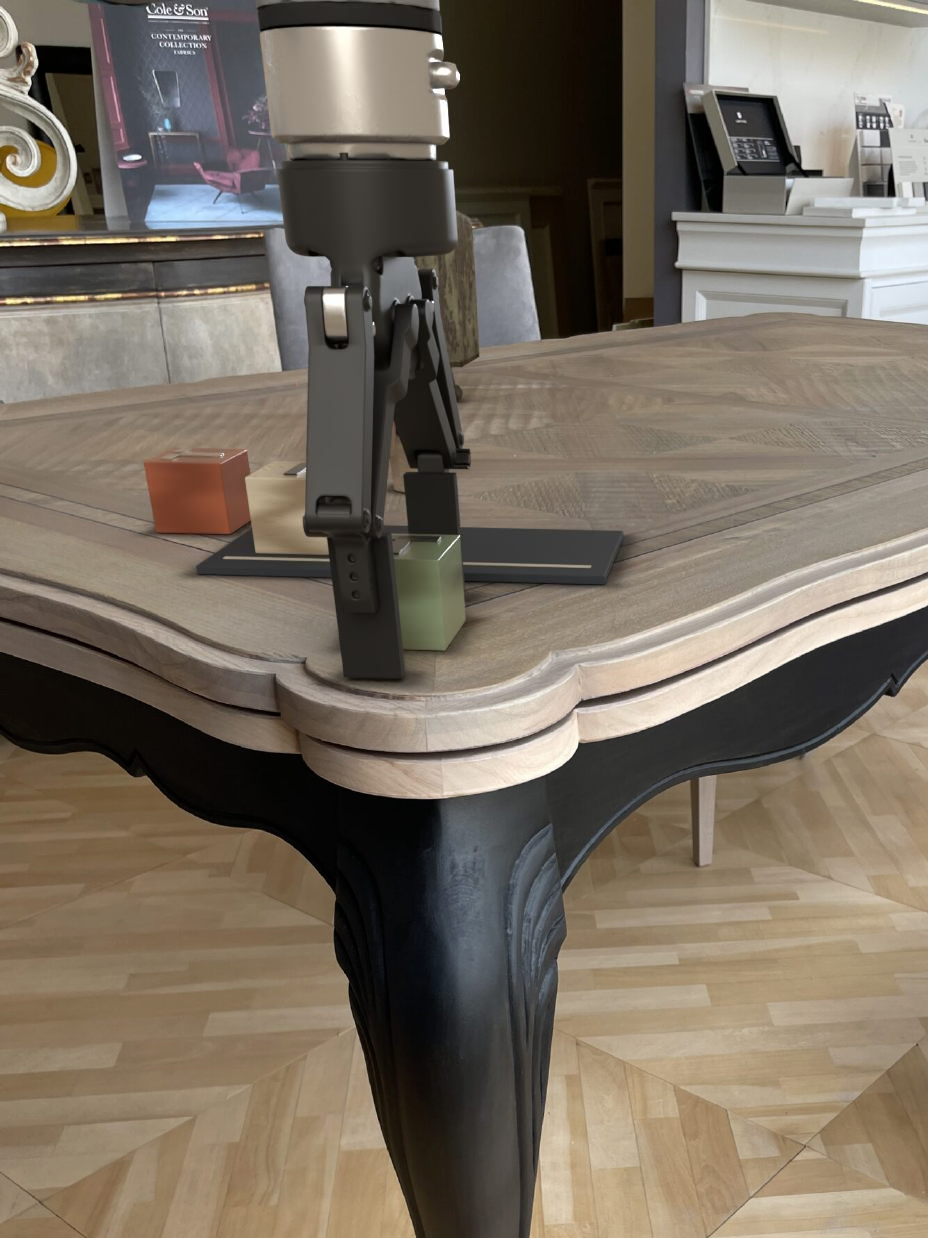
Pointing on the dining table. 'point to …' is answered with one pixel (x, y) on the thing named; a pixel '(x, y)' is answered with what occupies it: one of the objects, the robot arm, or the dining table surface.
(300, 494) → the slotted beige cube
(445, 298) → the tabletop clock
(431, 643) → the frosted jade cube
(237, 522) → the copper orange cube
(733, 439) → the dining table surface
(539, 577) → the word mat
